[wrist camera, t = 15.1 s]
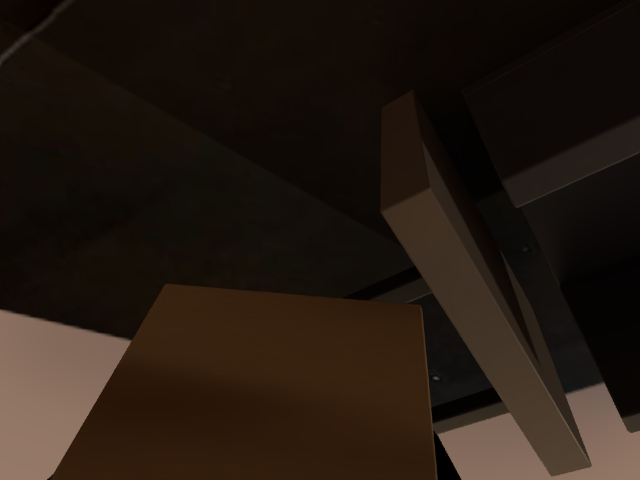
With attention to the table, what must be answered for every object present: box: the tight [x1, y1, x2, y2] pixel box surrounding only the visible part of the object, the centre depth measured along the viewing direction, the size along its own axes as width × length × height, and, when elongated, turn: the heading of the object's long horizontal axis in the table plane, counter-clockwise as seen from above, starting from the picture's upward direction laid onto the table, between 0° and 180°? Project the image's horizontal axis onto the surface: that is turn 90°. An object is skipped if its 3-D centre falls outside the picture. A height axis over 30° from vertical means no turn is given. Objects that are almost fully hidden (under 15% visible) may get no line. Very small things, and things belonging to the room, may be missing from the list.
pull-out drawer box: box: [343, 0, 640, 476], centre depth 15 cm, size 17×10×7 cm, turn 123°
